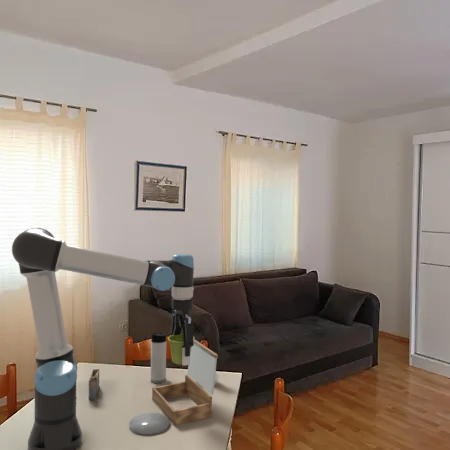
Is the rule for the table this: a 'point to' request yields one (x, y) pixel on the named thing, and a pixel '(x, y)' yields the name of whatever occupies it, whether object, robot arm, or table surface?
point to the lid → (203, 366)
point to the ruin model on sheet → (94, 384)
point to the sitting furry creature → (215, 379)
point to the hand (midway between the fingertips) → (181, 360)
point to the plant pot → (177, 348)
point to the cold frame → (192, 392)
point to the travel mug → (158, 357)
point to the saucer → (149, 423)
